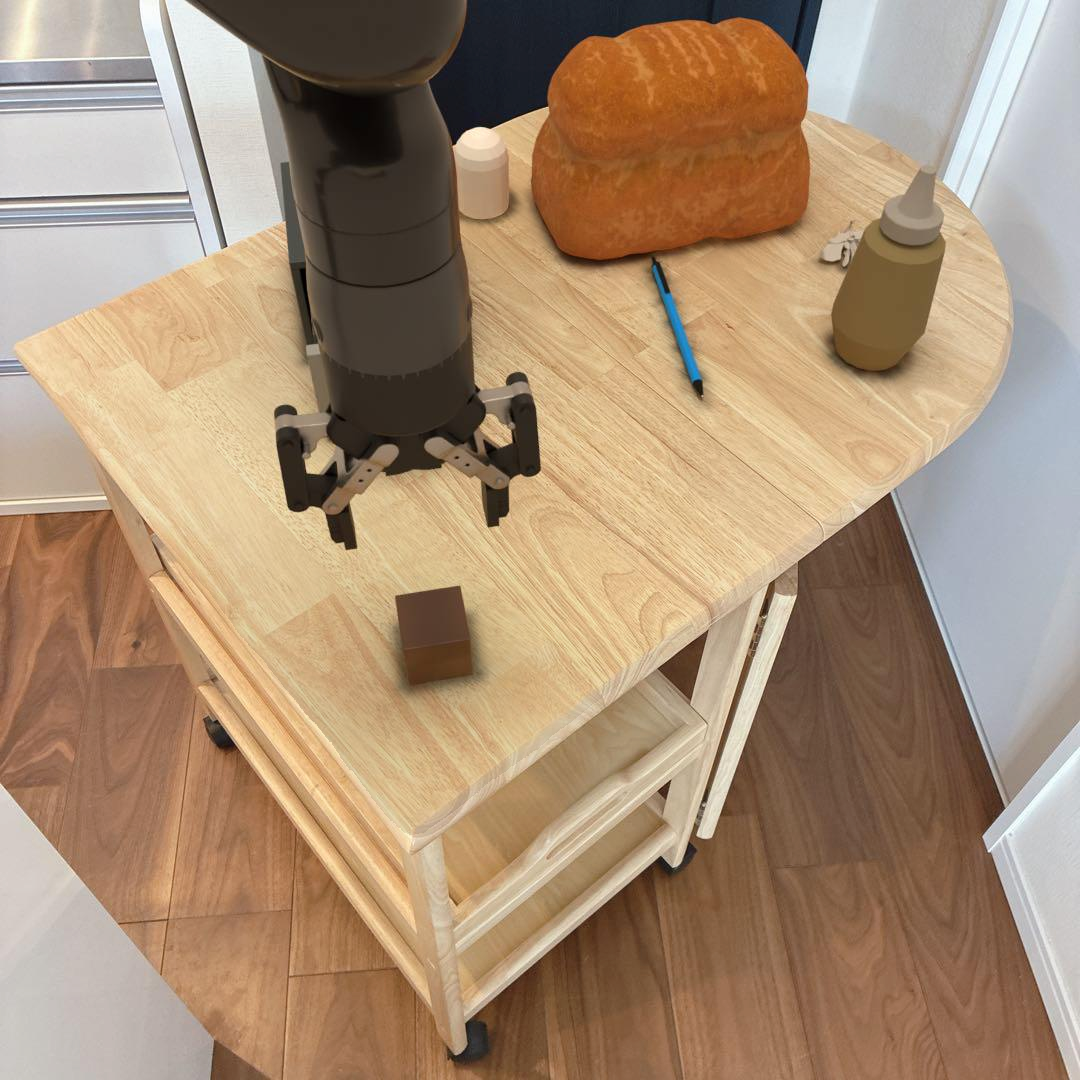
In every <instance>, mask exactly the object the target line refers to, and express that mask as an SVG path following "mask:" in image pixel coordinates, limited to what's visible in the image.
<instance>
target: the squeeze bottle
mask: <svg viewBox="0 0 1080 1080" xmlns="http://www.w3.org/2000/svg"><path fill="white" fill-rule="evenodd" d="M936 175H937V168H936V167H935V166H933V165H929V164H923V165H922V166H921V167H919V170H918V171H917V173H916V174H915V176H914V177H913V179H912V181H911V183H910V185H909V186H908V188H907V190H906V191H905V192H904V194H899V195H896V196H893V197H891V198H889V199H888V200H887V201H886V202H884V205H883V209H882V212H881V216H880V217H879V218H875V219H874V220H872V221H871V222H870V223H869V224H868V225H867V226H866V227H864V231H863V232H864V233H863V235H862V237H861V240H860V242H859V243H858V244H859V245H858V247H857V249H856V252H855V251H854V252H855V254H854V256H853V259H852V261H851V260H850V263H849V265H848V268H847V270H846V273H845V275H844V277H843V280H842V282H841V284H840V287H839V290H838V291H837V294H836V296H835V298H834V301H833V303H832V308H831V313H830V316H831V324H832V332H833V333H832V334H833V341H834V342H833V343H834V347H835V349H836V352H837V355H838V356H839V357H840V358H841V359H843V360H844V362H846V363H847V364H849V365H851V366H853V367H855V368H857V369H861V370H867V371H871V372H873V371H874V372H875V371H886V370H888V369H891V368H893V367H895V366H896V365H897V364H898V363H899V362H900V361H901V360H902V358H904V356H905V355H906V354H907V353H908V352H909V351H910V350H911V349H912V347H913V346H914V345H916V343H917V342H918V341H919V340H920V339H921V338H922V337H923V336H924V334H925V333H926V330H927V324H928V321H929V317H930V313H931V310H932V306H933V301H934V297H935V293H936V290H937V289H936V288H937V284H938V281H939V276H940V272H941V269H942V266H943V265H942V264H943V261H944V256H945V253H946V246H947V242H946V239H945V238H944V236H943V234H942V232H941V228H942V226H943V223H944V219H945V213H944V211H943V209H942V207H941V205H939V204H938V203H936V202H935V201H934V197H935V187H936V177H937V176H936Z"/></svg>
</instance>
